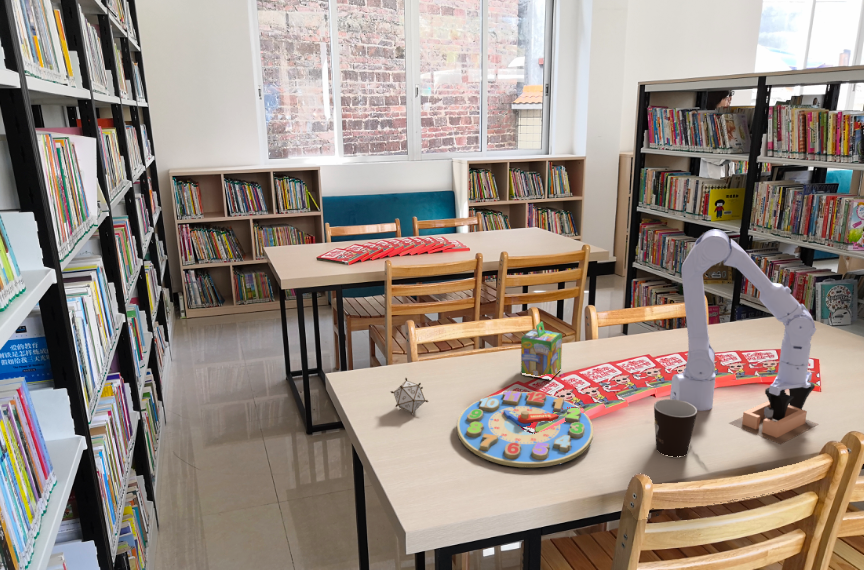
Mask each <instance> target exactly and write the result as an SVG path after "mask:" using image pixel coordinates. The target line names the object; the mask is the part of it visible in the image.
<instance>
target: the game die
mask: <svg viewBox="0 0 864 570" xmlns="http://www.w3.org/2000/svg"><path fill="white" fill-rule="evenodd" d="M404 380H405V381H404V382H403V383H402V384H401V385H399V387H398V388H396V390H394V391H393V390H391V391H390V393H391V394H393V396H394V399H395V402H396V404H395V408H397V407H398V408H401V409H400V410H404V411H406V412H408V413H411V414H412V413H413V414H414V413H415V412H416V410H418V409H419V408H420V407H421V406H422V405H424V403H425V402H426V403H428V402H429V400H428V399H426V398H425V396H424V393H423V391H422V390H423V389H424V387H423V386H421V385H422V383H421V382H419V383H418V384H417V383H414V382H412V381H409V380H408V378H407V377H405V378H404Z"/></svg>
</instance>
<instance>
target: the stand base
mask: <svg viewBox="0 0 864 570" xmlns="http://www.w3.org/2000/svg"><path fill="white" fill-rule="evenodd" d="M742 421H743V416H741V417H739V418H736V419H734V420H733V421H730V422H729V424H730V425H733V427H737V428H740V429H742V430H744V431H747V432H750V433H751V434H755V435H756V436H759V437H762V438H764V439H767V440H769V441H771V442H773V443H776V444H779V445H782V444H784V443H786V442H788V441H789V440H792V439H793V438H795V437H797V436H799V435H801V434H804V433H805V432H807V431H809V430H811V429H812V428H814V427H816V426H819V423H816V422H814V421H811V420H809V419H806V421H805V424H803V425H801V426H799V427H797V428H795V429H793V430H791V431H789V432H787V433H785V434H783V435H781V436H779V437H777V438H776V437H773V436H771V435H768V434H766V433H763V432H762V428H763V419H761V420H760V424H759V428H758V429H753V428H751V427H748V426H746V425H743V424H742ZM772 421H775V422H777V421H778V420H775V419H772Z"/></svg>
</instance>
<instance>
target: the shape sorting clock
mask: <svg viewBox="0 0 864 570" xmlns="http://www.w3.org/2000/svg"><path fill="white" fill-rule="evenodd" d="M574 406H576V405H575V404H574V403H571V402H570V401H567V400H565V398H564V397H557V396H553V395H549V394H546V393H545V392H541V391H529V392H528V391H514V390H507V391H503V393H498V394H494V395H490V396H485V397H483V398H480V399H479V400H477V401H474V402H472V403H471V404H469V405H468V406H467V407H466V408H465V409H463V410H462V412H461V413H460V414H459V416H458V419H457V423H456V425H457V426H456V429H457V434H458V438H459V440H460V441H461V443H462V444H463V445H464V447H466V449H468V450H469V451H471V452H472V453H474V454H475V455H477V456H479V457H480V458H482V459H484V460H487V461H490V462H492V463H496V464H499V465H503V466H509V467H516V468H517V467H518V468H544V467H550V466H555V465H561V464H560V463H562V464H564V463H566V462H569V461H571V460H572V461H573V460H574V459H576V458H578V457H579V456H580V455H582V454H583V453H584V452H585V451H586V450H587V449H588V448H589V446H590V445H591V443H592V441H593V438H594V426H593V423H592V421H591V419H590V417H589V416H588V414H586V413H585V412H584V413H581V411H580V409H581V408H579V407H578V408H579V409H578V408H571V407H574ZM567 407H568V408H569V407H570V409H568V410H567V415H566V416H565V421H566V422H564V423H562V424H559V425H557V426H554V427H553V428H550V429H548V430H545V431H542V432H539V433H535V434H534V433H533V434H532V433H529V432H525V431H524V430H522V428H521V427H526V426H530V425H531V423H533V422H541V421H553V420H556V419H558V418H559V415H557V414H553V413H554V412H561V409H562V408H563V409H567ZM553 411H554V412H553ZM518 425H519V426H518ZM520 426H521V427H520Z"/></svg>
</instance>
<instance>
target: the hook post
mask: <svg viewBox="0 0 864 570" xmlns="http://www.w3.org/2000/svg"><path fill="white" fill-rule="evenodd" d="M773 411H774V409H773V408H770V407H765V410H764V418H763V420H764V419H766V418H767V419H769V420H772V419H773Z"/></svg>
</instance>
